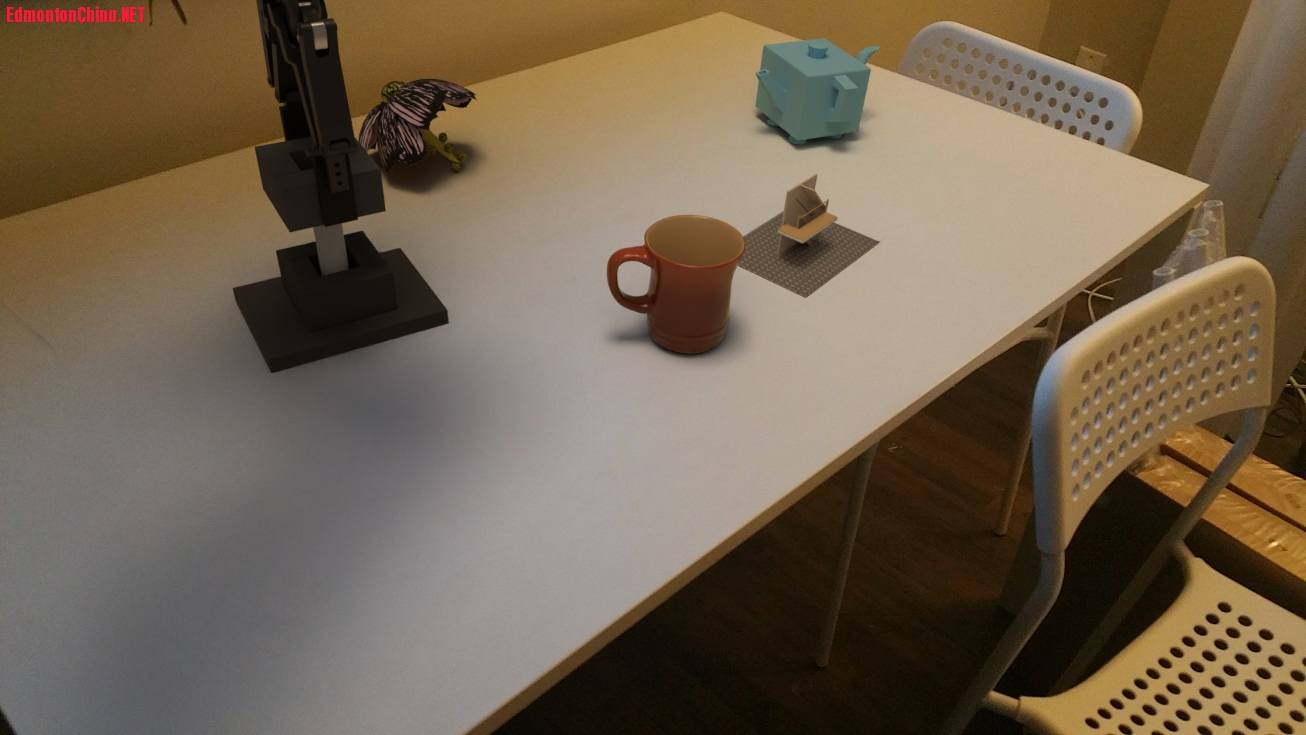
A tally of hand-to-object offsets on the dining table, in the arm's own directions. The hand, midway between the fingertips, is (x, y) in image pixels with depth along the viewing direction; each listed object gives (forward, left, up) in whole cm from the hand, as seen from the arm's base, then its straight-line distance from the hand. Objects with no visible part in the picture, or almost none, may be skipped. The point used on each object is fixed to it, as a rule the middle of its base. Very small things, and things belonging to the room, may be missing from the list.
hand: (324, 197), depth 83 cm
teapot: (+66, +13, -12) cm, 68 cm away
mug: (+25, -17, -12) cm, 32 cm away
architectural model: (+46, -10, -12) cm, 49 cm away
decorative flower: (+17, +24, -12) cm, 32 cm away
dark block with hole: (0, 0, -10) cm, 10 cm away
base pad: (0, 0, -12) cm, 12 cm away
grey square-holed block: (0, 0, 0) cm, 0 cm away
